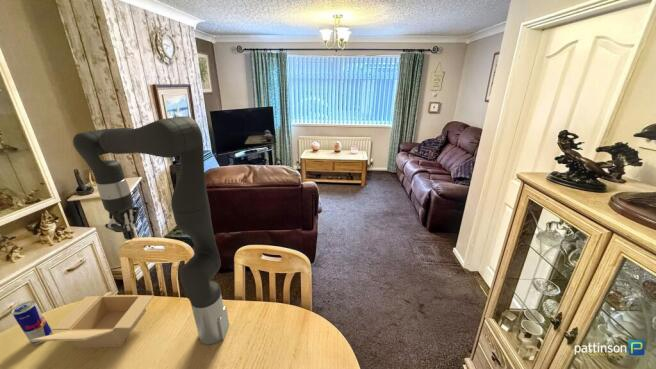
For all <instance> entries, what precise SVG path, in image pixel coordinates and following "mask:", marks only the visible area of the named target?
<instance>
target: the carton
mask: <svg viewBox="0 0 656 369" xmlns="http://www.w3.org/2000/svg"><path fill="white" fill-rule="evenodd" d="M154 297H155V295H153V294H152V295H93V296H92V295H91V296H90V295H86V296H85V297H84V298H82V300H81V301H80V302H78V304H77V305H75V306H74V307H73V308H72V310H69V312H68V313H67V314H66V315H65V316H64V317H63V318H62V319H60V321H58V323H57V324H55V326H53V328H52V331H62V330H63V331H91V330H113V332H110V333H107V334H103V335H100V336H97V337H93V338H90V339H86V340H83V341H73V343H74V344H75V347H76V348H103V347H104V348H109V347H111V348H113V347H114V348H115V347H122V345H123V344H124V342H125V341H126V340H127V338H128V337H129V335H130V334H131V333H132V331H133V330H134V329H135V328H136V326H137V324H139V322H140V321H141V319H142V318H143V317H144V315H145V314H146V312H147V309H146V308H147V307H148V306H149V304H150V302H152V300H153V298H154Z"/></svg>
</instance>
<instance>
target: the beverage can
mask: <svg viewBox="0 0 656 369" xmlns="http://www.w3.org/2000/svg"><path fill="white" fill-rule="evenodd" d="M11 314H12V316H13V318H14V320H15V321H16V322H17V324H18V325H19V327H20V328H21V330H22V331H23V333H24V335H25V336H26V337H27V339H28V341H29V342H30V340H31V339H35V338H39V337H44V336H48V335H52V334H53V329H52V328H51V326H50V325H49V323H48V320H46V318H45V316H44V315H43V313H42V311H41V309H40V307H39V306H38V304H37V303H36V302H35V301H34V300H28V301H24V302H22V303H20V304H18V305H16V306H15V307H13V308H12V310H11ZM44 342H45V341H35V342H30V344H32V345H38V344H42V343H44Z"/></svg>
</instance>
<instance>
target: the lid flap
mask: <svg viewBox="0 0 656 369" xmlns="http://www.w3.org/2000/svg"><path fill="white" fill-rule="evenodd" d="M110 332H113V330H91V331H68V330H64V331H61V332H57V333H54V334H53V333H52V335H48V336H44V337H39V338H35V339H31V340H30V341H29V342H30V343H31V342H35V341H44V342H72V341H83V340H86V339H90V338H93V337H97V336H100V335H103V334H107V333H110Z"/></svg>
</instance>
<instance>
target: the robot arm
mask: <svg viewBox="0 0 656 369" xmlns="http://www.w3.org/2000/svg"><path fill="white" fill-rule="evenodd" d="M72 145H73V147H74V148H75V150H76V152H77V153H78V154H79V155H80V157H81V158H82V159H83V160H84V162H85V163H86V164H87V166H88V167H89V168H90V171H91V172H92V175H93V178H94V181H95V182H96V188H97V191H98V195H99V197H100V198H99V199H100V201H101V204H102V206H103V209H104V210H105V211H107V212H108V217H109V222H108V223H105V224H104V227H105V229H108V230H111V231H113V232H115V233H122V234H123V237H124V240H127V241H128V240H129V241H132V240H133V239H134V238H135V237H136V236H135V232H134V225H135V224H137V221H138V217H139V211H140V207H139V206H133V205H134V198H133V196H132V192H131V189H130V186H129V183H128V181H127V179H126V177H125V173H124V170H123V167H122V164H121V162H120V161H118V160H114V159H113V160H111V159H108V160H107V159H106V160H102V158H101V157H100V156H103V155H107V154H115V155H116V154H117V155H127V154H128V155H129V154H143V155H149V156H155V157H159V158H166V159H167V158H168V159H170V158H176V157H179V161H180V172H179V175H178V178H177V180H176V183H175V186H174V189H173V193H172V197H171V200H170V201H171V202H170V203H171V210H172V212H173V218H174V221H175V225H176V226H177V228H178V229H179V230H180V231H181V232H183V233H184V234H185V235H187V236H188V237H189V238H191V240H192V243H193V247H194V253H193V256H191V258H190V259H188V260H187V262H185V264H183V266H182V267H181V268H180V270H179V279H180V283H181V285H182V288H183V291H184V294H185V296H186V298H187V299H188V300H189V302H190V307H191V310H192V314H193V317H194V323H195V326H196V329H197V333H198V337H199V340H200V342H201V343H202V344H204V345H213V344H214V345H215V344H216V343H218V342H220V341H224V340H225V338H226V335H227V332H228V328H229V327H230V322H229V315H228V310H227V306H226V305H224V301H223V296H222V291H221V286H220V285H219V283H217V282H216V281H214V280H213V278H214V277H215V275H217V273H218V272H219V270H220V268H221V265H222V261H221V257H220V253H219V249H218V246H217V242H216V238H215V234H214V228H213V222H212V217H211V216H212V215H211V207H210V201H209V197H208V196H209V195H208V190H207V184H206V176H205V175H206V173H205V159H204V158H205V156H204V152H205V151H204V139H203V133H202V131H201V128H200V126H199V124H198V122H197V121H196V120H195V119H193V117H190V116H186V115H185V116H183V115H182V116H175V117H168V118H161V119H158V120H154V121H152V122H150V123H146V124H145V125H141V126H139V127H136V128H133V127H118V128H103V129H97V130H91V131H82V132H78V133H77V134H75V135H74V137H73V139H72Z"/></svg>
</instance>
